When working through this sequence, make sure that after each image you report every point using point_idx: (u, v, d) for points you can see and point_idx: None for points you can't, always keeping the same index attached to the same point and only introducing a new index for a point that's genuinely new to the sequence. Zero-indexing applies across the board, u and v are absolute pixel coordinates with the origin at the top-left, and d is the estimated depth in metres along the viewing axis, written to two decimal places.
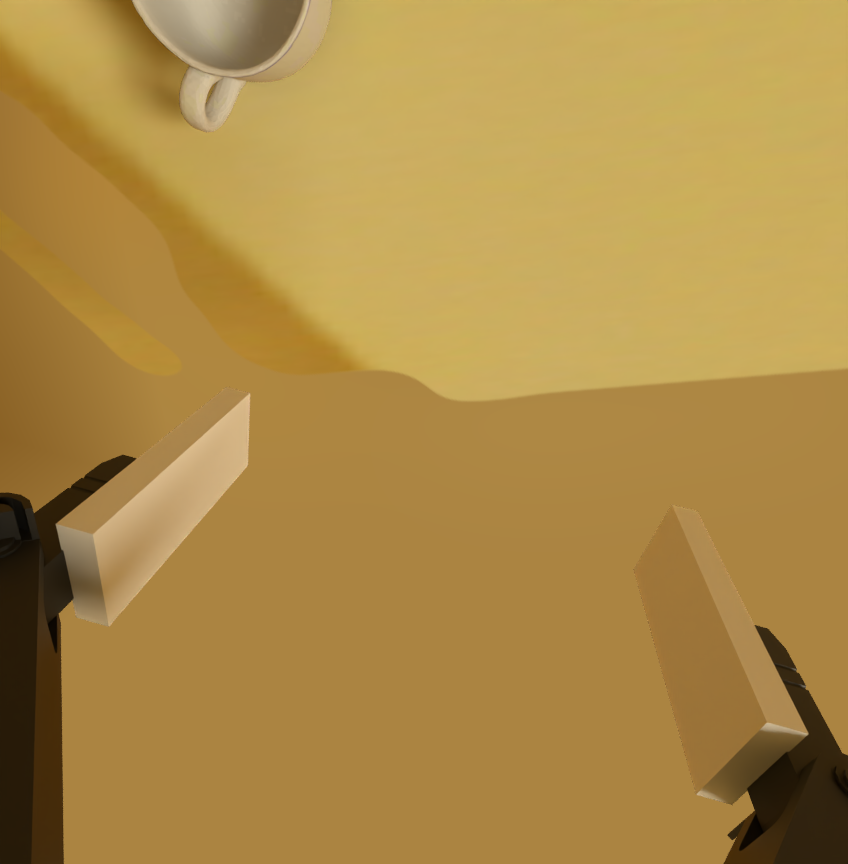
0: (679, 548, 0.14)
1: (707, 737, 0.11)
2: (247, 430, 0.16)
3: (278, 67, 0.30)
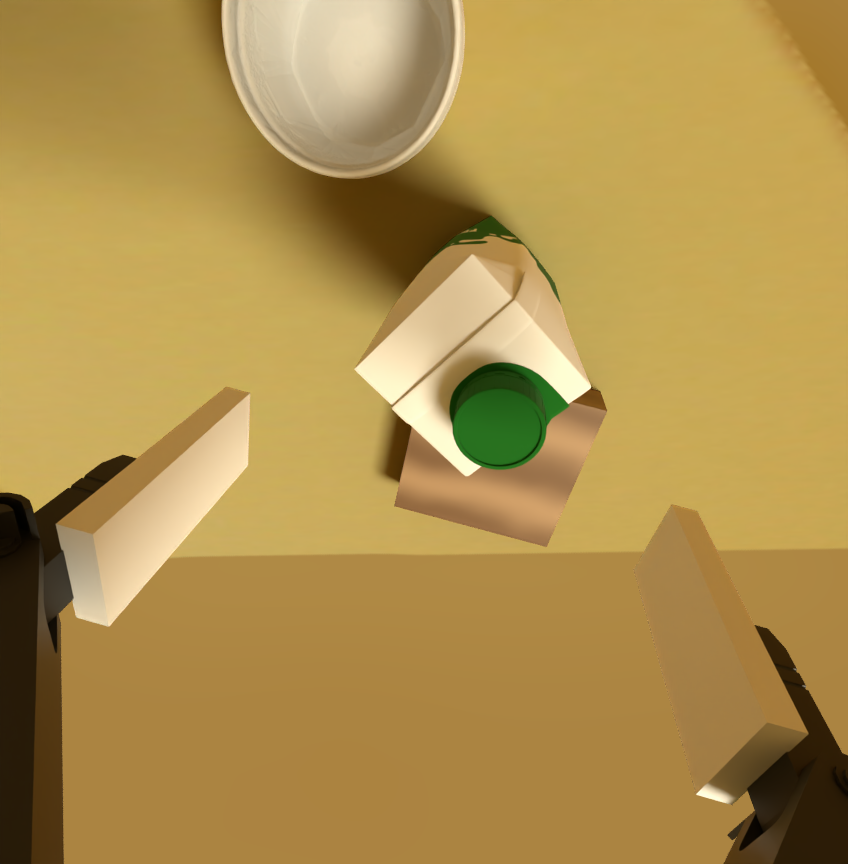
0: (680, 548, 0.14)
1: (707, 737, 0.11)
2: (247, 429, 0.16)
3: None
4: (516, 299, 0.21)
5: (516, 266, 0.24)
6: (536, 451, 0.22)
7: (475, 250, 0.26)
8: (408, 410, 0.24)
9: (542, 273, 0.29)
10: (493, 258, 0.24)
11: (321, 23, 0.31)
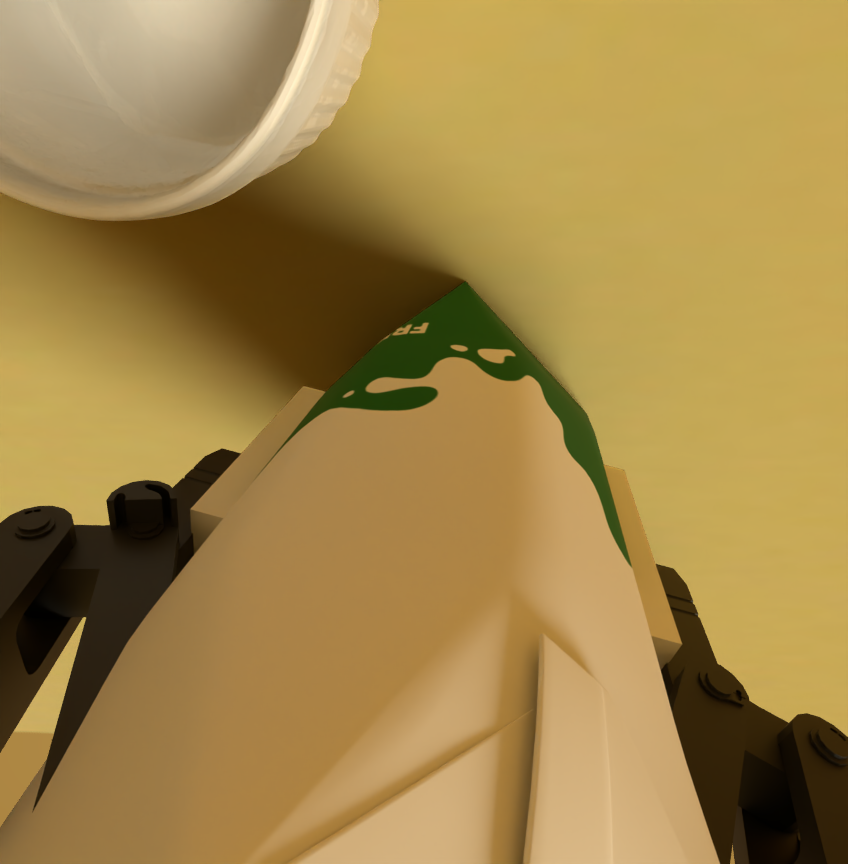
0: None
1: None
2: None
3: None
4: None
5: (510, 595, 0.06)
6: None
7: (385, 463, 0.08)
8: None
9: (579, 468, 0.11)
10: (426, 551, 0.07)
11: None
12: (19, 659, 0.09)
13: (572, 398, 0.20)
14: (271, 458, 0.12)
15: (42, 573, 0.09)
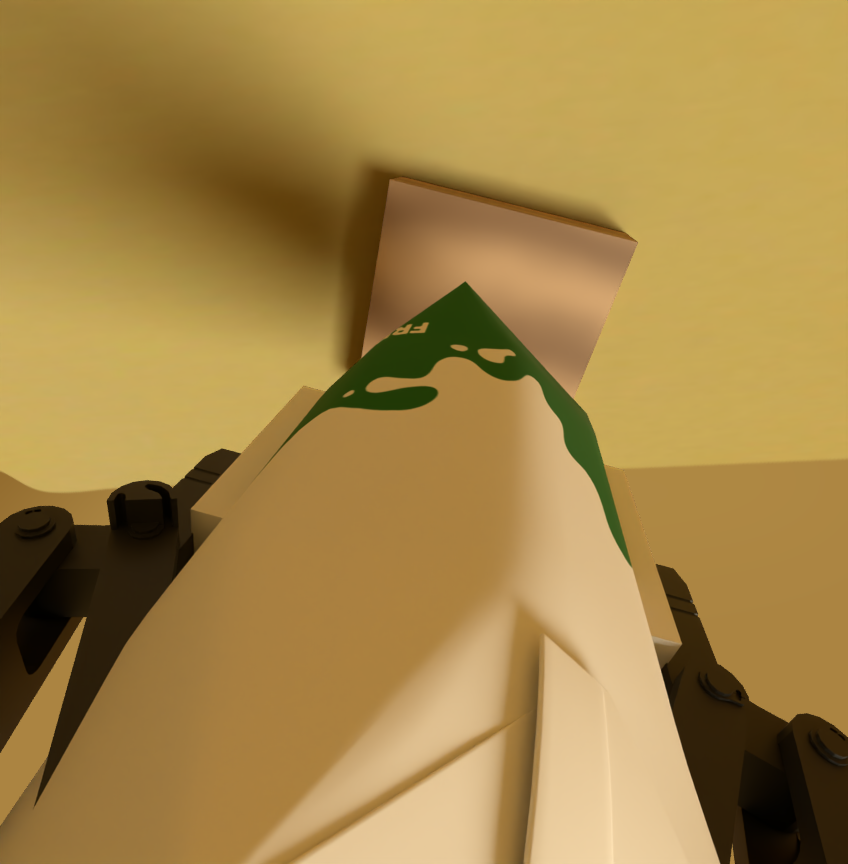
0: None
1: None
2: None
3: None
4: None
5: (510, 595, 0.06)
6: None
7: (385, 463, 0.08)
8: None
9: (579, 468, 0.11)
10: (426, 551, 0.07)
11: None
12: (19, 659, 0.09)
13: (572, 398, 0.19)
14: (271, 458, 0.11)
15: (42, 573, 0.09)
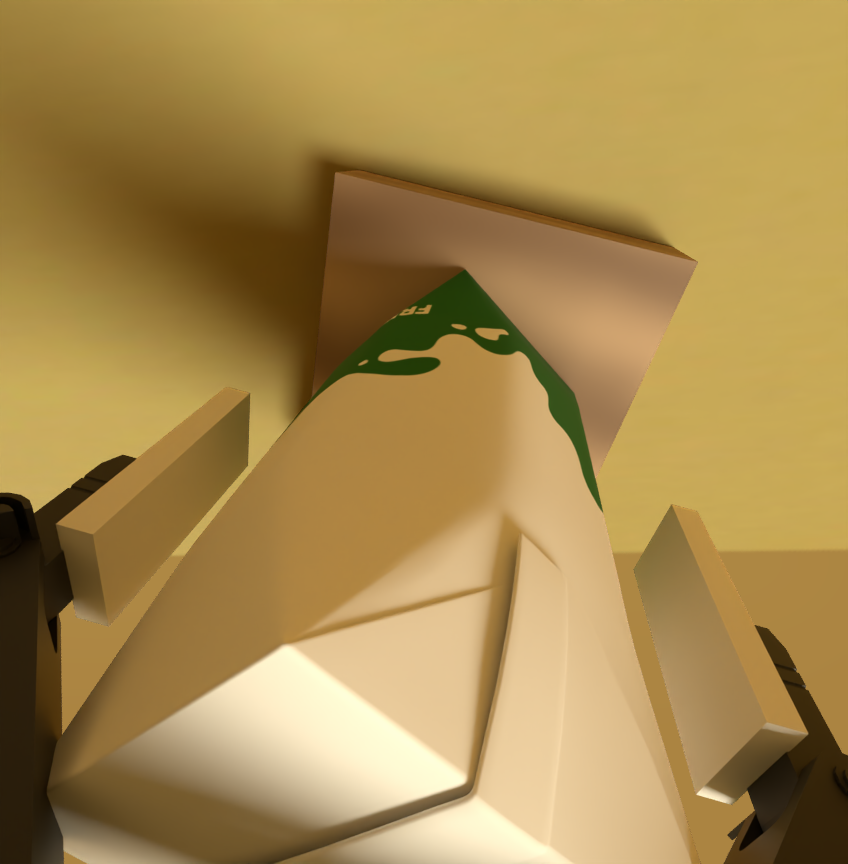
0: (680, 548, 0.14)
1: (707, 737, 0.11)
2: (247, 429, 0.16)
3: None
4: (483, 777, 0.05)
5: (496, 507, 0.08)
6: None
7: (397, 414, 0.10)
8: None
9: (561, 429, 0.13)
10: (432, 474, 0.08)
11: None
12: None
13: None
14: (295, 418, 0.13)
15: None
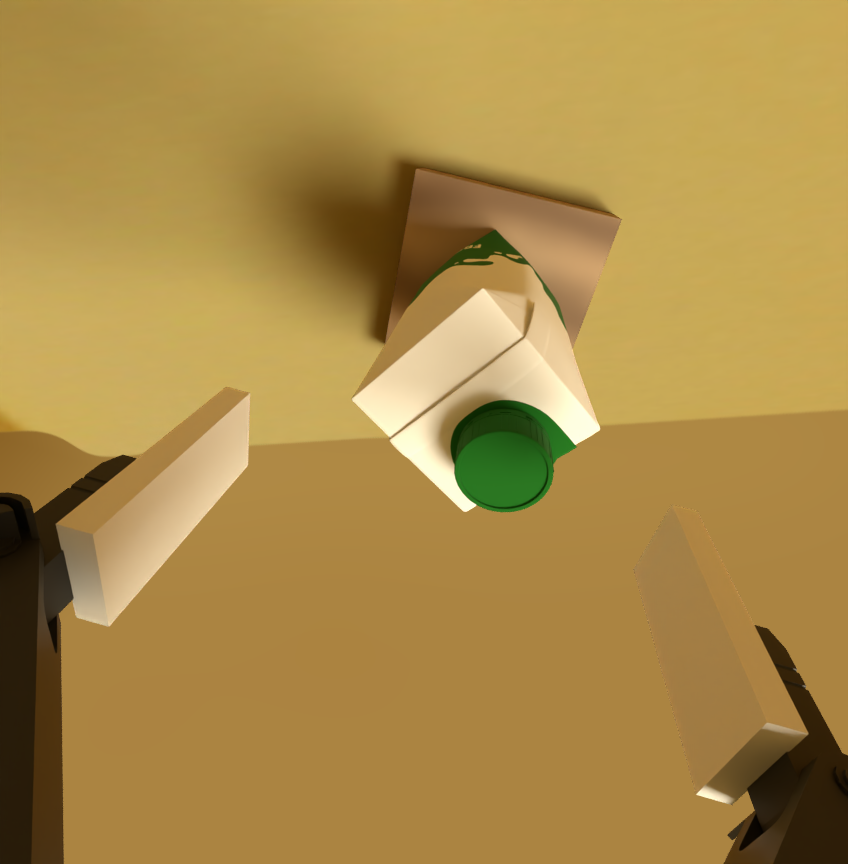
0: (679, 548, 0.14)
1: (707, 737, 0.11)
2: (247, 429, 0.16)
3: None
4: (527, 336, 0.20)
5: (525, 296, 0.23)
6: (541, 495, 0.21)
7: (481, 274, 0.25)
8: (406, 443, 0.23)
9: (548, 297, 0.28)
10: (501, 286, 0.23)
11: None
12: None
13: None
14: (422, 290, 0.28)
15: None
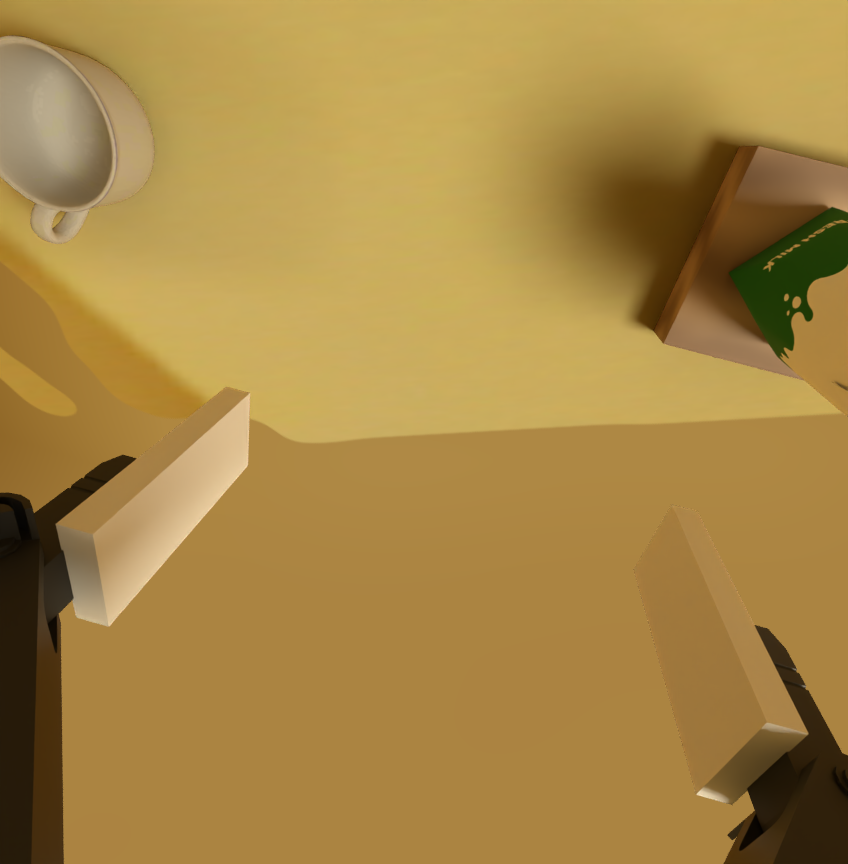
0: (680, 548, 0.14)
1: (707, 737, 0.11)
2: (247, 429, 0.16)
3: (106, 202, 0.39)
4: None
5: None
6: None
7: None
8: None
9: None
10: None
11: None
12: None
13: None
14: (837, 261, 0.27)
15: None
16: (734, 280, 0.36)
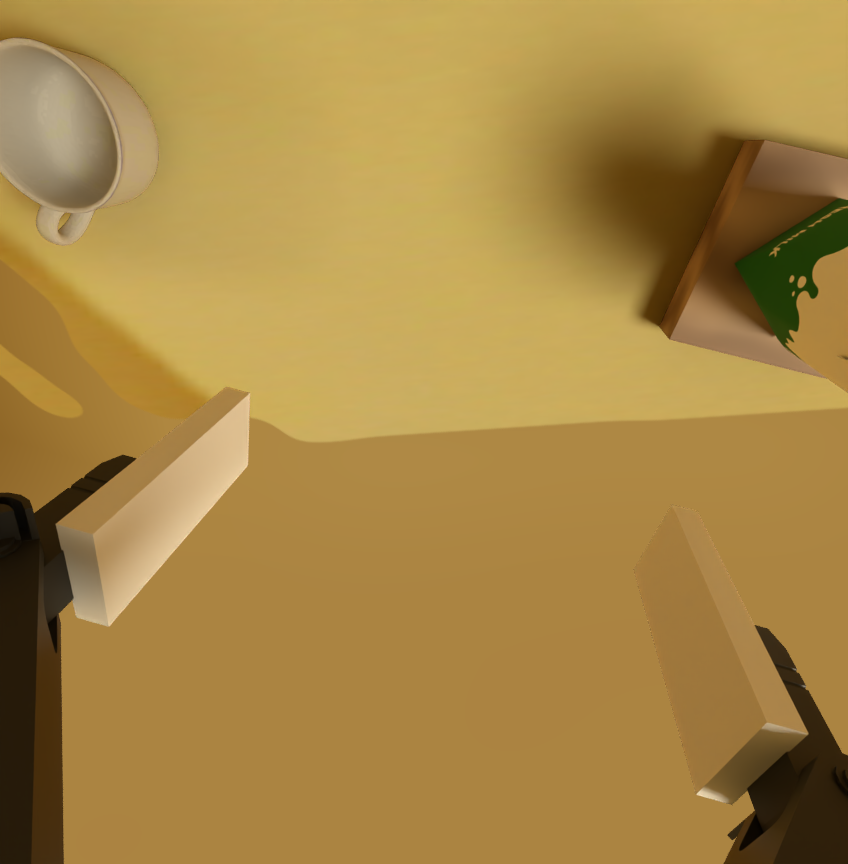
0: (680, 548, 0.14)
1: (707, 737, 0.11)
2: (247, 429, 0.16)
3: (111, 203, 0.39)
4: None
5: None
6: None
7: None
8: None
9: None
10: None
11: None
12: None
13: None
14: (843, 238, 0.27)
15: None
16: (740, 270, 0.36)
